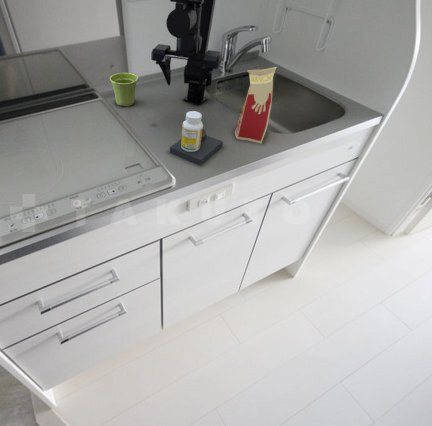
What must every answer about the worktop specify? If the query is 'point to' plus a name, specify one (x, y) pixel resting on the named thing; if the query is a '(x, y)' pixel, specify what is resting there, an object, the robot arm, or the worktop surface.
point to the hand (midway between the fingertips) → (184, 87)
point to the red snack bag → (256, 106)
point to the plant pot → (124, 88)
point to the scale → (201, 155)
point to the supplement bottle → (192, 132)
